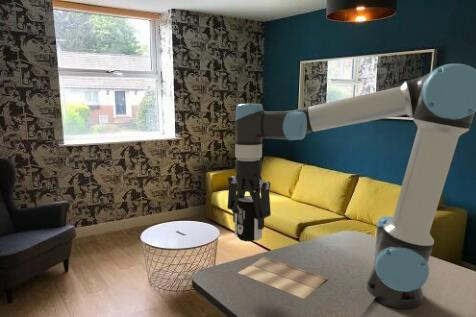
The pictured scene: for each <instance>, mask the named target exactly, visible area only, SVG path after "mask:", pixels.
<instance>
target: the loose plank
mask: <svg viewBox="0 0 476 317" xmlns="http://www.w3.org/2000/svg"><path fill="white" fill-rule="evenodd" d="M251 265H252V266H254V267H257V268H260V269H263V270H265V271H268V272H271V273H274V274H276V275H279V276H282V277H284V278H287V279H290V280H293V281H295V282H298V283H301V284H304V285H306V286H309V287H312V288H314V289H316V290H317V289H318V288H319V287H321V286H322V284H324V283H325V282H326V281H327V280H328V278H327V277H324V276H321V275H318V274H314V273H313V272H309V271H306V270H303V269H301V268H297V267H295V266H291V265H289V264H287V263H283V262H281V261H277V260H274V259H271V258H268V257H265V256H262V257H261V258H260V259H258V260H257V261H255V262H254V263H252V264H251Z"/></svg>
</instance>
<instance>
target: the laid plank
mask: <svg viewBox="0 0 476 317" xmlns="http://www.w3.org/2000/svg"><path fill="white" fill-rule="evenodd" d="M237 274H240V275H242V276H245V277H247V278H249V279H252V280H255V281H257V282H260V283H263V284H265V285H268V286H270V287H272V288H276V289H278V290H281V291H283V292H285V293H288V294H289V295H293V296H296V297H297V298H300V299H303V300H305V299H307V297H309V296H310V295H311V294H312V293H314V292H315V291H316V290H317V289H316V288H313V287H310V286H307V285H305V284H302V283H299V282H296V281H294V280H291V279H288V278H286V277H283V276H280V275H277V274H275V273H272V272H269V271H266V270H264V269H261V268H258V267H255V266H253V265H252V264H251V265H249V266H247V267H245V268H244V269H242V270H240V271H238V272H237Z"/></svg>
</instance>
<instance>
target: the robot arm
mask: <svg viewBox="0 0 476 317" xmlns="http://www.w3.org/2000/svg"><path fill="white" fill-rule="evenodd" d="M263 108H264V106H263V105H262V104H261V103H238V104H237V105H236V108H235V118H234V122H235V123H234V125H235V129H234V130H235V146H234V147H235V148H234V149H235V150H234V151H235V152H234V157H235V158H236V159H235V161H234V162H235V164H234V165H235V173H236V174H235V175H233V176H229V177H228V178H227V181H228V195H227V204H226V206H227V210H231V212H232V222H233V223H234V235H235V236H237V202H238V200H239V199H238V198H243V197H244V196H246V192H249V196H252V200H253V204H254V208H255V211H256V215H257V217H256V218H255V228H254V240H255V242H258V241H259V240H261V239H263V230H264V229H265V219H266V218H268V217H270V216H271V211H272V210H271V200H270V199H271V197H270V188H271V182H270V181H265V180H264V179H263V178H262V175H261V174H262V171H263V169H262V168H263V160H262V158H263V139H266V140H267V139H271V140H272V139H273V140H287V141H296V140H297V141H298V140H303V139H304V138H306V134H309V133H313V132H319V131H325V130H329V129H330V130H331V129H334V128H339V127H345V126H350V125H355V124H361V123H367V122H372V121H377V120H383V119H387V118H393V117H397V116H398V117H399V116H405V115H407V116H408V117H410V118H412V120H413V123H415V125H416V126H417V131H416V134H415V138H414V142H413V145H412V148H411V152H410V156H409V158H408V162H407V166H406V169H405V173H404V177H403V180H402V184H401V188H400V190H399V195H398V198H397V201H396V205H395V209H394V213H393V216H382V217H380V218H378V220H377V223H376V225H375V226H376V240H375V251H374V262H373V263H374V266H373V268H372V270H371V272H370V274H369V277H368V279H367V281H366V289H367V292H369V294H370V295H371V296H373V297H374V299H373V300H374V301H375V302H378V303H380V304H382V305H384V306H387V307H390V308H395V309H404V310H405V309H406V310H407V309H408V310H410V309H416V308H417V307H419V306H421V305H422V303H423V298H424V292H423V289H422V287H423V286H424V285H425V284H426V282H427V281H428V279H429V274H430V267H429V260H430V257H431V254H432V250H433V246H434V244H435V240H434V238H433V237H432V235H431V233H430V232H431V230H432V225H433V222H434V219H435V216H436V212H437V209H438V206H439V202H440V199H441V196H442V194H443V193H442V192H443V190H444V187H445V184H446V181H447V176H448V174H449V170H450V168H451V164H452V161H453V157H454V154H455V150H456V148H457V144H458V142H459V138H460V136H462V135H463V134H465V133H467V132H468V131H470V129H471V125H472V123H473V119H474V116H475V113H476V69H475V67H472V66H470V65H467V64H465V63H464V64H463V63H446V64H442V65H440V66H438V67H436V68H435V69H434V70H432V71H431V72H428V73H427V74H425V75H423V76H420V77H418V78H415V79H410V80H406V81H404V82H403V83H402V84H401V85H400V86H397V87H392V88H387V89H382V90H380V91H379V90H378V91H374V92H369V93H364V94H361V95H356V96H352V97H346V98H342V99H339V100H333V101H330V102H325V103H320V104H316V105H312V106H308V107H303V108H297V109H293V110H283V111H281V110H279V111H271V110H270V111H268V110H264V109H263Z"/></svg>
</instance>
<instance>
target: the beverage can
mask: <svg viewBox="0 0 476 317" xmlns="http://www.w3.org/2000/svg"><path fill="white" fill-rule="evenodd" d="M238 199H239V200H238V202H237V235H236V237H237V238H238V240H240V241H241V242H242V241H243V242H254V241H255V240H254V228H255V218H256V217H257V215H256V211H255V208H254V204H253V200H252V196H251V195H245V196H244V197H243V198H238ZM255 242H256V241H255Z"/></svg>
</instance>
